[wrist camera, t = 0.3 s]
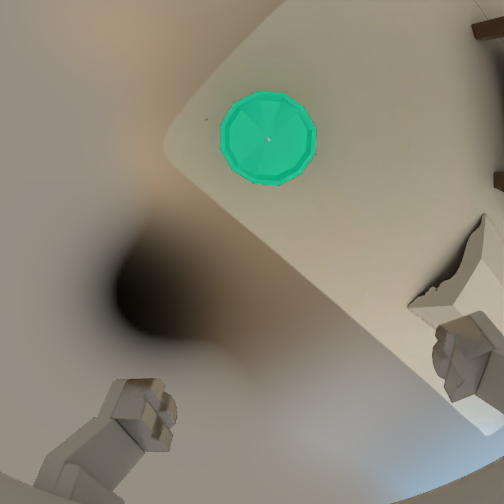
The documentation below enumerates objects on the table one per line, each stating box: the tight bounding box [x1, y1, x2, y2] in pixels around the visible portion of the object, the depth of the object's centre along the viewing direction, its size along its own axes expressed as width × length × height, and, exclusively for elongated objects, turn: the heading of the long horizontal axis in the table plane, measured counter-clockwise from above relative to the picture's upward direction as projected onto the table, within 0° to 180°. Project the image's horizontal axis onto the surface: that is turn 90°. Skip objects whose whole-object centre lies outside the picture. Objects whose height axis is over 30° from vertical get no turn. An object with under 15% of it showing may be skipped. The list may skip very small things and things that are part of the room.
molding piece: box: [408, 214, 504, 336], centre depth 36 cm, size 32×12×10 cm
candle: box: [220, 92, 317, 186], centre depth 22 cm, size 6×6×12 cm
